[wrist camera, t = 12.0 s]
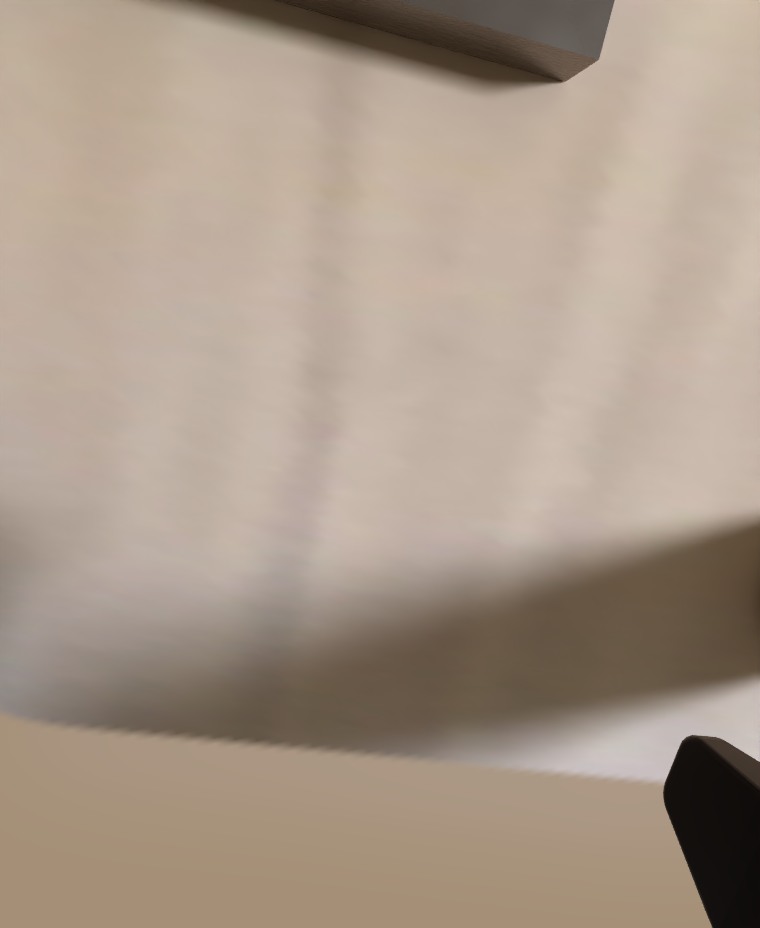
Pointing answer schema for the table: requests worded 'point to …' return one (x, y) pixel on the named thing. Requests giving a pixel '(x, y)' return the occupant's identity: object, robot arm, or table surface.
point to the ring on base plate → (491, 28)
